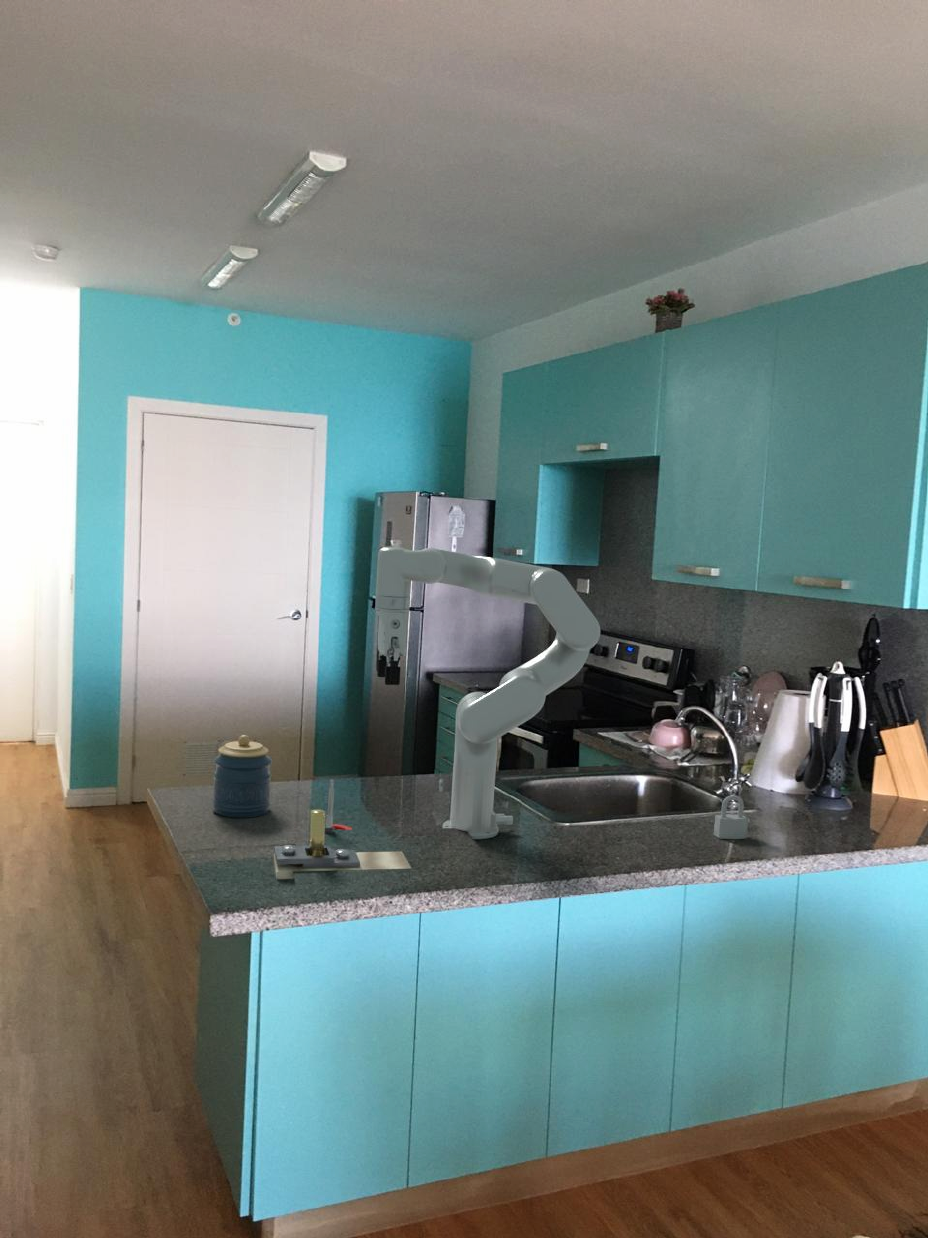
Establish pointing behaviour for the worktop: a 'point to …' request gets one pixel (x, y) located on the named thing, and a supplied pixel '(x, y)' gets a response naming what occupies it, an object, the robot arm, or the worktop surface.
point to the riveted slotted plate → (316, 857)
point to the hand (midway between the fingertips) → (388, 680)
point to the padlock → (731, 821)
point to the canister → (242, 779)
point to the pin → (317, 832)
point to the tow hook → (329, 817)
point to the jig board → (366, 863)
